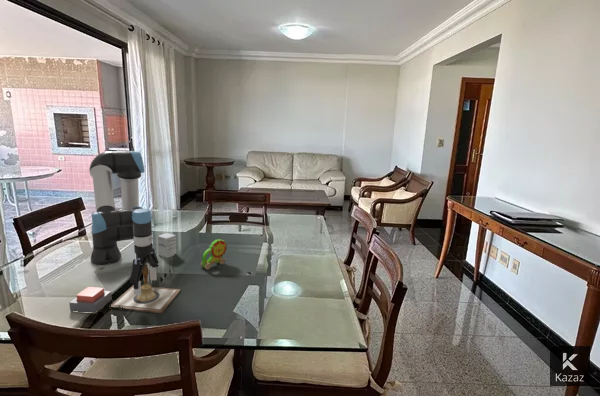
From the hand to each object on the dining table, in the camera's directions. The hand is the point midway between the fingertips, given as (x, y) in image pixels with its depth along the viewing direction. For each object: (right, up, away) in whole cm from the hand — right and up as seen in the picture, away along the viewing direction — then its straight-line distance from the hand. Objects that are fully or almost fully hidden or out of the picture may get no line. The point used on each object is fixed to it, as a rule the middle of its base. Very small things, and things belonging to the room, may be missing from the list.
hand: (146, 286), depth 148 cm
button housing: (-21, -7, -6) cm, 23 cm away
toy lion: (+21, +2, +39) cm, 45 cm away
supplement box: (-10, +6, +49) cm, 50 cm away
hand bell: (0, -5, +1) cm, 5 cm away
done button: (-21, -3, -7) cm, 22 cm away
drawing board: (0, -6, +2) cm, 6 cm away
